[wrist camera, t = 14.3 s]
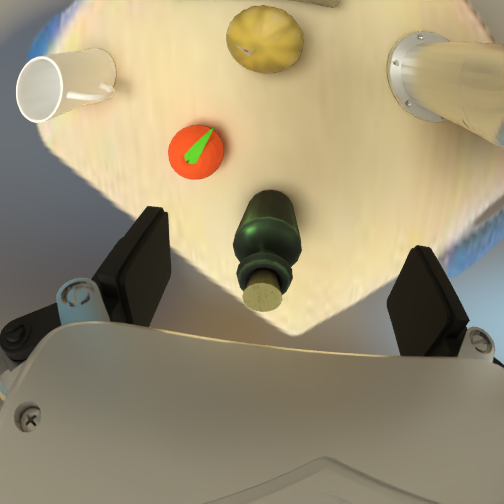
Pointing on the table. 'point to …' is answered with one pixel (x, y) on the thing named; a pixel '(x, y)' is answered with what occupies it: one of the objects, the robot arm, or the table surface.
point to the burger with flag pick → (264, 39)
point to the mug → (64, 83)
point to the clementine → (195, 152)
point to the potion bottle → (266, 250)
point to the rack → (321, 2)
